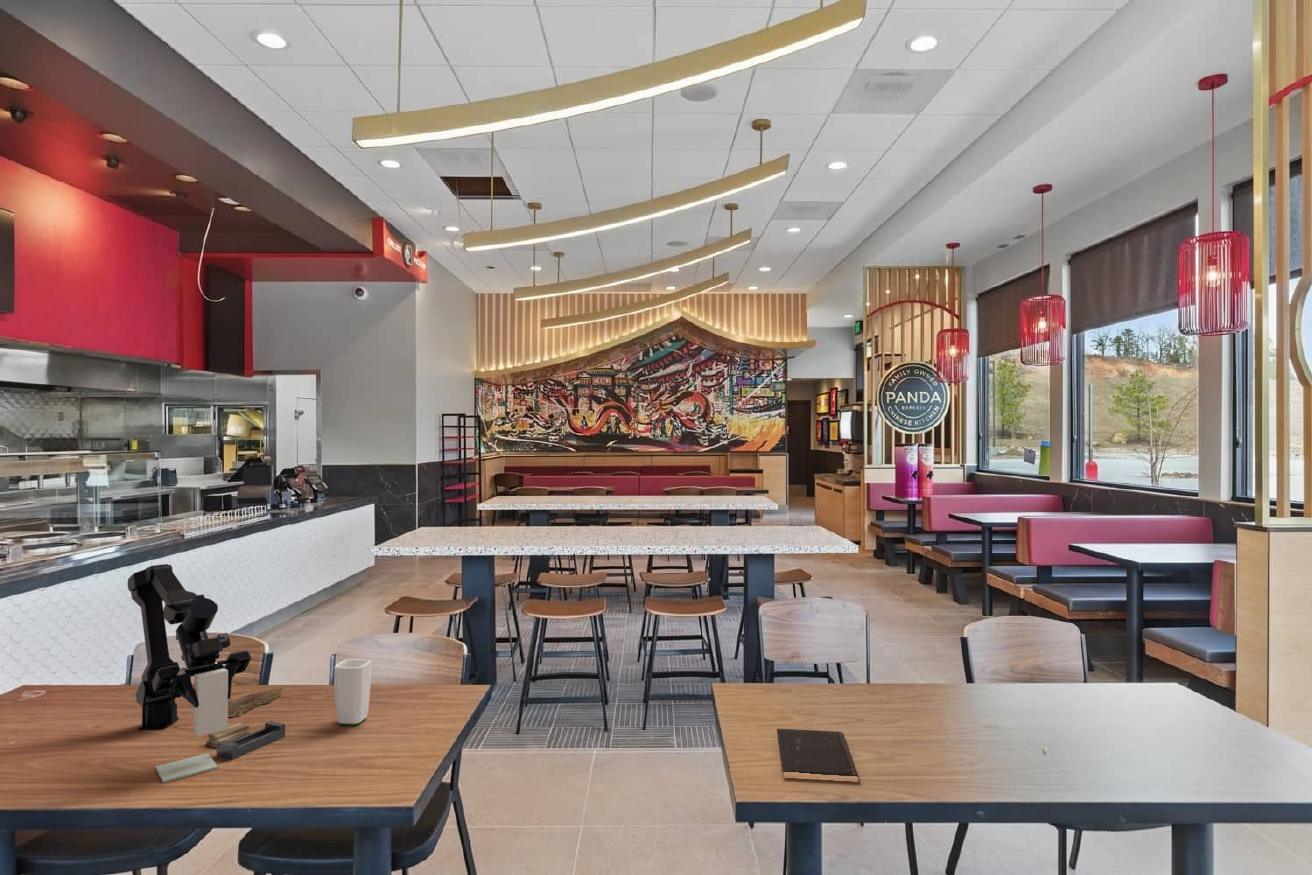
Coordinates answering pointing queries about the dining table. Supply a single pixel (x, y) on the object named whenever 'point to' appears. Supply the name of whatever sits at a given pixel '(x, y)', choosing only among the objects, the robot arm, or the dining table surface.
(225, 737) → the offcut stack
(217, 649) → the robot arm
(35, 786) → the dining table surface
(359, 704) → the cup
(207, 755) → the sage mat
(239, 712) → the carved relief fragment
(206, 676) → the tall block
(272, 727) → the slot rack
